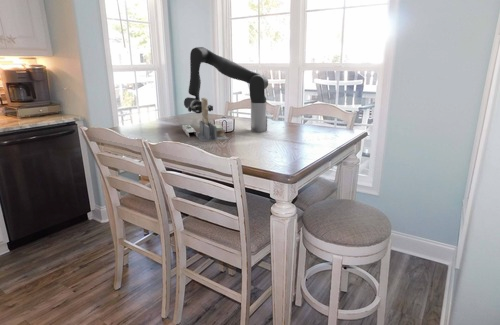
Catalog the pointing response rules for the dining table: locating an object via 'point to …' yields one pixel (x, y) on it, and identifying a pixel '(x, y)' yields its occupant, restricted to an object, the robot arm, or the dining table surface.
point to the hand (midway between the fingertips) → (203, 110)
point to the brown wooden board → (204, 111)
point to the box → (188, 129)
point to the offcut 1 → (219, 127)
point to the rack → (209, 132)
